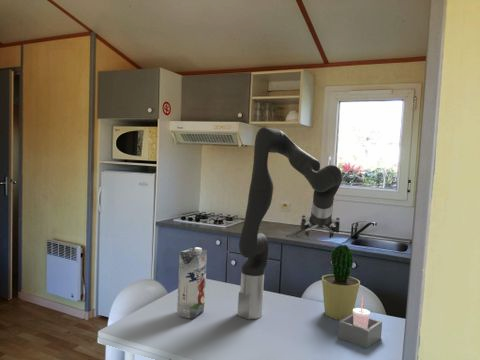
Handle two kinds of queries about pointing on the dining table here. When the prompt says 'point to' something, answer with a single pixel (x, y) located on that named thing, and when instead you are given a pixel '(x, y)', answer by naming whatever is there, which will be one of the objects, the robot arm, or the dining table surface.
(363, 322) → the beverage cup
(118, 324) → the dining table surface
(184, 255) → the juice carton
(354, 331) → the bin
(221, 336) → the dining table surface
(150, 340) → the dining table surface
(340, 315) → the potted cactus
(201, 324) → the dining table surface
